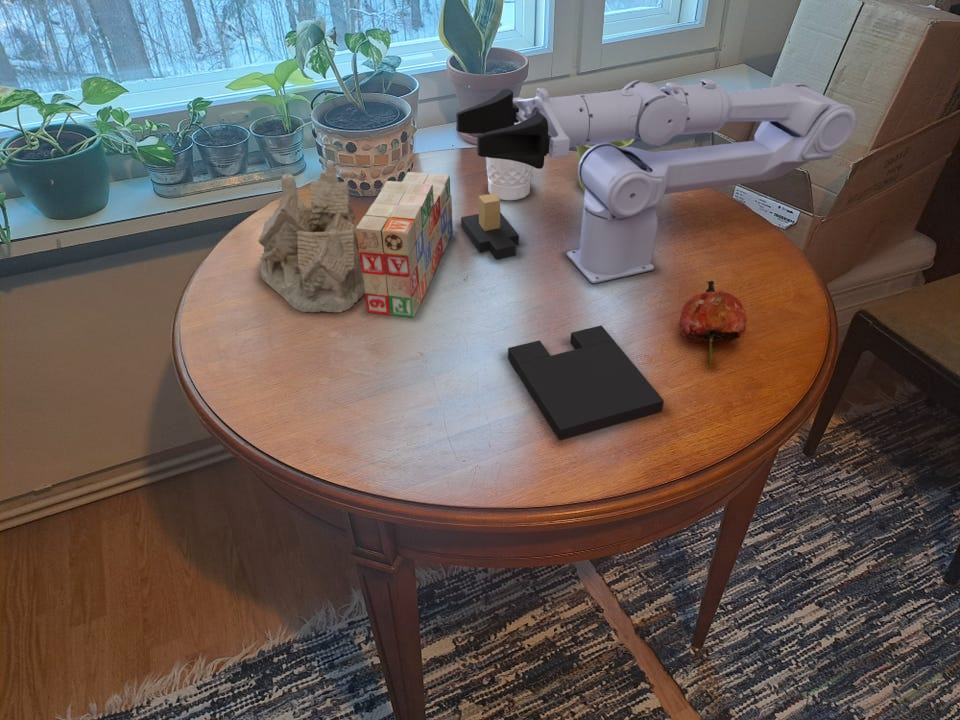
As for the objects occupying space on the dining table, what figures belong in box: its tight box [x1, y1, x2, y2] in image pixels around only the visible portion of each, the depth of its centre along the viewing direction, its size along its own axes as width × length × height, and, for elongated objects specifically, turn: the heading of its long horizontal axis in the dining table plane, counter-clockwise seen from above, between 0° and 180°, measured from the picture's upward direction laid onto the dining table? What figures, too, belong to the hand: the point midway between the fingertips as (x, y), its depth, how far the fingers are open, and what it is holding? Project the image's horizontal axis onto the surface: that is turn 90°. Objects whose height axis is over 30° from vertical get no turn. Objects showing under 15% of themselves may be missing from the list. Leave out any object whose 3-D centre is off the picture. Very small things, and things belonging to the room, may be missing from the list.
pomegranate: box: [678, 280, 748, 366], centre depth 81 cm, size 7×7×10 cm
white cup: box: [485, 122, 534, 201], centre depth 111 cm, size 8×8×10 cm
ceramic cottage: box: [257, 160, 365, 314], centre depth 90 cm, size 16×16×15 cm
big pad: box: [507, 324, 665, 441], centre depth 78 cm, size 14×12×2 cm
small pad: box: [460, 193, 520, 260], centre depth 101 cm, size 10×6×6 cm, turn 20°
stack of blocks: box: [356, 171, 454, 318], centre depth 93 cm, size 21×6×12 cm, turn 168°
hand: (467, 133), depth 79 cm, fingers open, 7 cm apart
